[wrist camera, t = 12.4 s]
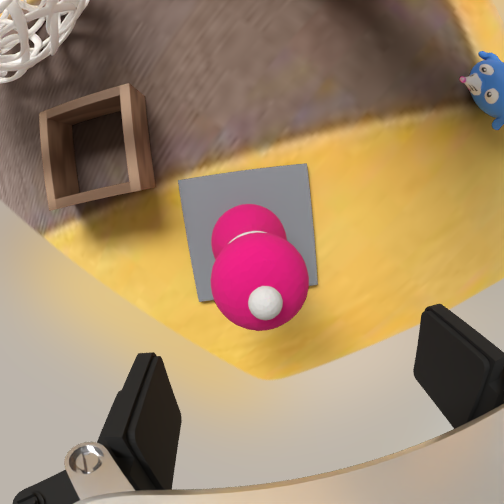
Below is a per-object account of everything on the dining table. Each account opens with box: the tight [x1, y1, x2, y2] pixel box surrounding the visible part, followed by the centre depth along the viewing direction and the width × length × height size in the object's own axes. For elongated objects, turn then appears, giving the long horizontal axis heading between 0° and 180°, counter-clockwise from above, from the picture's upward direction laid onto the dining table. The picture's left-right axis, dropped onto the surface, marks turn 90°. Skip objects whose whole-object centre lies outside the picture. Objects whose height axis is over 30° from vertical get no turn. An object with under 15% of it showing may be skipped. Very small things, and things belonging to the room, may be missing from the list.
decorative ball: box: [0, 0, 90, 83], centre depth 17 cm, size 20×20×19 cm
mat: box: [178, 164, 318, 302], centre depth 35 cm, size 14×14×1 cm
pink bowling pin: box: [210, 204, 309, 331], centre depth 25 cm, size 7×7×20 cm
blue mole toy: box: [459, 51, 504, 130], centre depth 28 cm, size 12×12×8 cm
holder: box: [39, 83, 156, 211], centre depth 29 cm, size 11×11×6 cm
